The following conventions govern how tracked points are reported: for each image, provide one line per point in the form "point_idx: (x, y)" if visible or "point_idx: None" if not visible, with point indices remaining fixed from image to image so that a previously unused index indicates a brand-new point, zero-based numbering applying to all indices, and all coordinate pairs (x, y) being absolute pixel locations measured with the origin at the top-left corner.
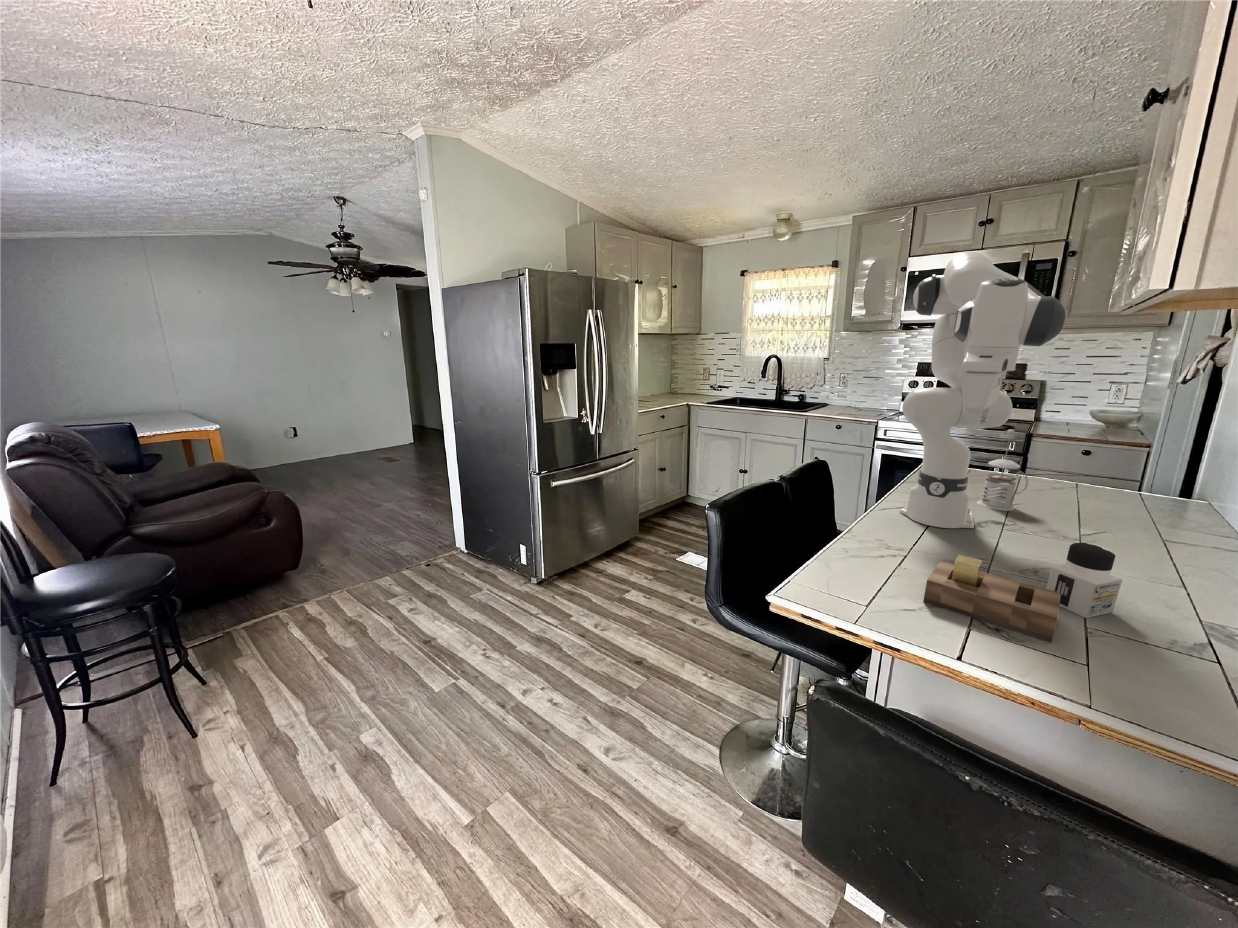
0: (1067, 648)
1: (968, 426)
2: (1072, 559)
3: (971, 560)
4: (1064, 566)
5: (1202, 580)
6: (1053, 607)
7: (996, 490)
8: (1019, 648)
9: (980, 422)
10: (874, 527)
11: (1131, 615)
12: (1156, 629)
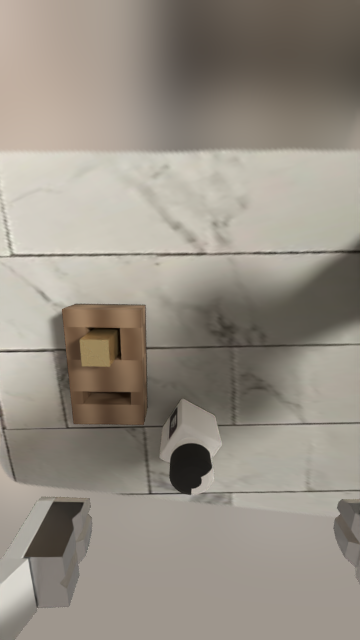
0: None
1: (28, 520)
2: (177, 451)
3: (99, 355)
4: (186, 435)
5: None
6: (97, 420)
7: None
8: (52, 387)
9: (353, 531)
10: (300, 177)
11: None
12: None
